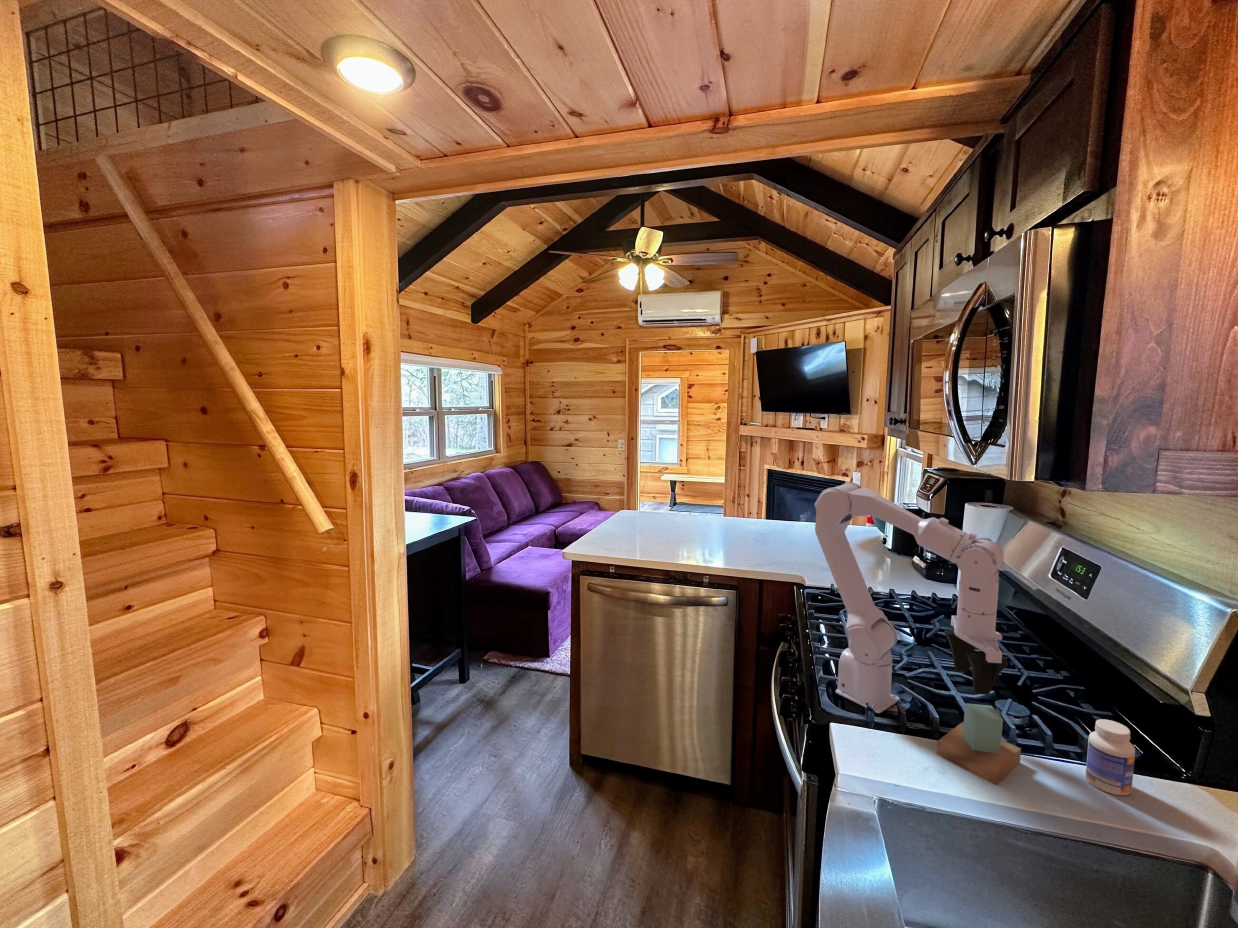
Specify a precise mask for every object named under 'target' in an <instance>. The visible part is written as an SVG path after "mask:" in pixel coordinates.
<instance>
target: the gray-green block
mask: <svg viewBox="0 0 1238 928" xmlns="http://www.w3.org/2000/svg"><path fill="white" fill-rule="evenodd" d="M963 723H964V724H963V737H964V738H965V740H966V741H967V743H968V744H969V746H970V747H971V748H972V750H973V751H982V752H991V753H1000V747H1001V740H1002V738H1003V737H1002V736H1003V735H1002V734H1003V726H1004V725H1003V723H1004V718H1003V717H1002V716H1001V715H1000V714H999V713H998V712H997V711H996V709H995V708H994V707H993V705H987V704H979V703H977V704H975V703H966V702H965V705H964V716H963Z"/></svg>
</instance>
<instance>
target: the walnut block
mask: <svg viewBox="0 0 1238 928" xmlns="http://www.w3.org/2000/svg"><path fill="white" fill-rule="evenodd" d="M963 724H964V721H962V722H960V723H959V724H958V725H956V726H955V727H954V728H953V729H951V730H949V731H948V732H947V733H946V734H945V735H943V736H942V737H940V738H939V739H938V740H937V747H936V756H937V755H938V756H939V757H941V758H943V759H945V760H946V761H949V762H951V763H952V764H955V765H957V766H958V767H960V768H962V769H965V770H966V771H969V772H971V773H972V774H974V775H976V776H978V777H980V778H982V779H984V780H986V781H988V782H989V783H992V784H993V785H995V786H998V785H999V784H1000V783H1001V782H1002V781H1003V780H1004V779H1005V778H1006V777H1007V776H1008V775H1009V774H1010V773H1011V772H1012V771H1013V770H1014V769H1015V768H1016V767H1017V766H1018V765H1019V764H1020V762H1021V757H1022V756H1021V755H1022V754H1021V753H1022V748H1021V747H1019V746H1017V745H1014V744H1012V743H1009V742H1008V741H1005V740H1003V739H1001V747H1000V753H991V752H982V751H973V750H972V748H971V747H970V746H969V744H968V743H967V741H966V740H965V738H964V737H963Z"/></svg>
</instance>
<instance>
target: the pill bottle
mask: <svg viewBox="0 0 1238 928" xmlns="http://www.w3.org/2000/svg"><path fill="white" fill-rule="evenodd" d="M1094 729H1095V730H1094V731H1092V732H1090V733H1089V735H1088V738H1087V739H1088V741H1087V744H1088V745H1087V754H1086V755H1087V756H1086V766H1085V778H1086V779H1087V781H1088V782H1089V783H1090V784H1091V785H1093V786H1094V787H1095V788H1097V789H1099V790H1101V791H1103V792H1105V793H1109V794H1112V795H1115V796H1127V795H1129V794H1131V792H1132V787H1133V780H1134V779H1133V778H1134V768H1135V760H1136V759H1135V758H1136V748H1135V746H1134V745H1133V744H1132V743H1131V742H1130V740H1131V730H1130V729H1129V728H1128V726H1126V725H1124V724H1122V723H1120V722H1117V721H1114V720H1111V719H1110V720H1109V719H1105V718H1103V719H1102V718H1100V719H1097V720H1095V726H1094Z"/></svg>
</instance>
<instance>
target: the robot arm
mask: <svg viewBox="0 0 1238 928" xmlns="http://www.w3.org/2000/svg"><path fill="white" fill-rule="evenodd" d="M814 508H815V511H816V513H815V514H816V515H815V526H814V532H815V535H816V538H817V540H818V543H819V545H820V547H821V551H822V553H823V554H824V557H825V560H826V562H827V565H828V567H829V570H830V572H831V575H832V577H833V580H834V582H835V585H836V587H837V589H838V592H839V595H840V597H841V600H842V603H843V604H844V607H845V610H846V613H847V619H846V625H845V630H846V632H847V634H848V635H847V636H848V647H847V648H845V649H844V650H843V651H842V653H841V655H840V656H839V657H840V658H839V660H838V671H837V672H838V673H837V688H836V690H835V693H836V694H838V695H839V696H841V697H844V698H846V699H848V700H850V701H852V702H854V703H856V704H858V705H860V706H862V707H864V708H866V709H868V708H867V705H866V703H867V702H870V703H872V704H873V706H874V711H875V712H874V711H873V712H874V713H876V714H881V713H882V712H884V711H886V710H887V709H889V708H890V707H891V706H893V705H895V704H896V703H897V701H898V700H899V701H900V697H899V696H897V695H894V694H892V677H893V676H892V674H893V673H892V672H893V655H892V652H891V649H892V648H894V646H895V645H896V644H897V642H898V632H897V630H896V629H895V627H894V625H893V624H892V623H891V622H889V620H888V619H887V617H886V616H885V613H884V611H883V610H881V609H880V608H879V607H877V606H876V605H875V603H874V600H873V598H872V595H871V594H870V593H871V592H870V590H869V588H868V585H867V584H866V581H865V579H864V576H863V574H862V571H861V569H860V567H859V564H858V562H857V560H856V556H855V554H854V553H853V549H852V547H851V545H850V542H849V540H848V538H847V536H846V531H847V528H848V526H849V525H850V523H851V521H852V520H853V518H856V517H865V516H867V517H868V516H872V517H874V518H877V519H878V520H881V521H883V522H885V523H887V524H889V525H891V526H894V527H897V528H898V529H900V530H903V531H905V532H907V533H908V534H911V535H913V537H914V538H915V541H916V544H917V545H919V546H920V547H922V548H925V549H926V550H927V551H930V552H932V553H934V554H936V555H938V556H940V557H942V558H943V559H945V560H947V561H949V562H951V563H954V564H956V566H957V568H958V570H959V571H960V575H959V576H960V580H959V581H958V582H959V583H958V593H957V595H958V596H957V606H956V607H957V609H956V615H951V618H950V626H952V627H953V628H952V629H951V628H950V629H948V628H947V629H944V630H943V632H944V634H945V637H946V638H947V641H948V643H949V647H950V650H951V651H950V652H951V655H952V660H953V667H954V669H955V671H956V672H966V673H968V672H970V670H971V676H972V677H971V678H972V679H971V680H972V687H973V691H974V693H975V694H976V695H987V696H989V695H990V694H991V691H992V688H993V687H994V684H995V682H996V681H997V678H998V676H999V675H1000V674H1001V672H1002V671H1003V670H1004V669H1006V668H1007V667H1008V664H1009V663H1008V660H1007V659H1006V658H1005V657H1003V652H1002V650H1001V649H1000V648H999V647H1000V646H999V643H998V641H1001V640H1002V639H1003V635H1002V634H1001V633H1000V632H998V631H996V625H997V614H998V613H997V612H998V611H997V610H998V601H999V587H1000V586H999V579H1000V578H999V575H1000V574H999V573H1000V571H999V570H998V569H999V568H1000V567H1001V566H1002V564H1003V562H1004V558H1005V555H1004V551H1003V549H1002V548H1001V546H999V544H998V543H996V542H994V541H993V540H992V539H991V538H988V537H978V536H977V534H975V533H973V532H970V533H968V532H965V531H963V530H962V529H959V528H957V527H955V526H953V525H951V524H949V522H950V521H949V520H948V519H946V518H945V517H940V518H936V517H929V518H925V519H924V518H922V517H920V516H918V515H916V514H914V513H913V512H911V511H909V510H907V509H905V508H904V507H901V506H899V505H897V504H896V503H895V502H892V501H890V500H889V499H887V498H885V497H883V496H882V495H880V494H877V493H876V492H875V491H873V490H872V489H871V488H868V487H865V486H863V487H862V486H861V485H859V483H857V482H852V481H851V482H849V481H848V482H845V483H843V484H841V485H838V486H835V487H828V488H826V489H824V490H822V492H820V494H819V496H818V497H817V499H816V501H815V502H814ZM976 649H978V650H979V653H977V652H975V650H976ZM899 701H898V702H899Z"/></svg>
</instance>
